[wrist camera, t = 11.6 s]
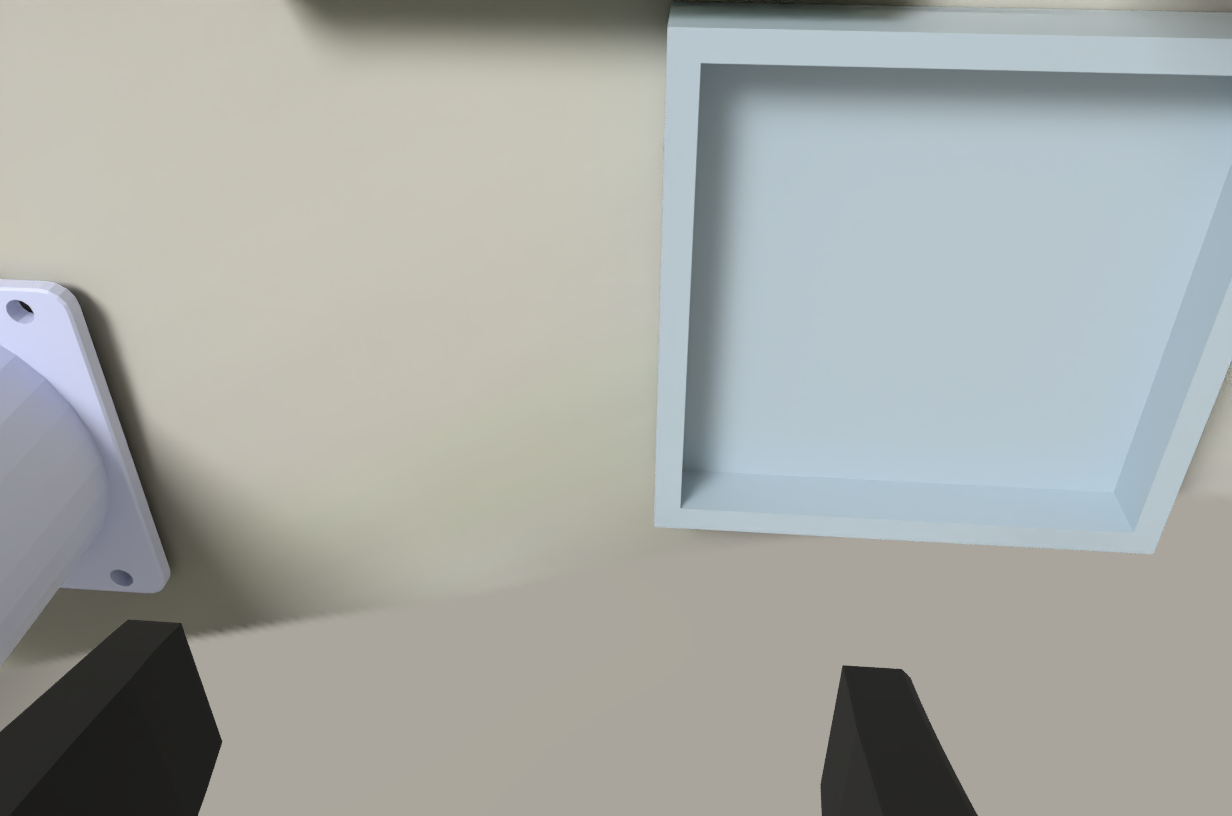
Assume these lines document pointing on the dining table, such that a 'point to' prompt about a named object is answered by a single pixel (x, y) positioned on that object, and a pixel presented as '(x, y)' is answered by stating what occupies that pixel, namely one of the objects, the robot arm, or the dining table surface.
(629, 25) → the dining table surface
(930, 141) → the blue-grey tray
